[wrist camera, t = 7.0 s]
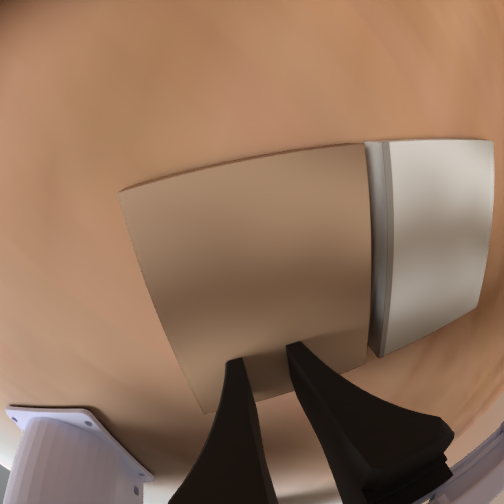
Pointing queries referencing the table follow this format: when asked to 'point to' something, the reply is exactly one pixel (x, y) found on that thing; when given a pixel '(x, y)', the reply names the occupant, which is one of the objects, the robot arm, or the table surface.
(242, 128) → the table surface
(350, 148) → the plank
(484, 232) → the laid board
